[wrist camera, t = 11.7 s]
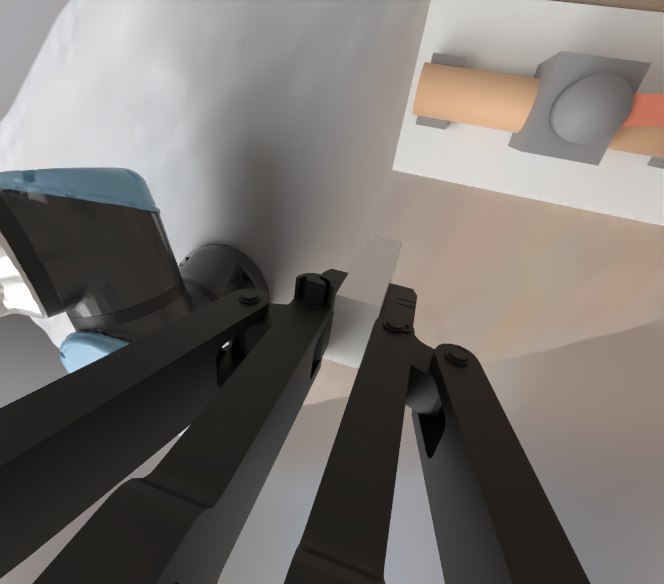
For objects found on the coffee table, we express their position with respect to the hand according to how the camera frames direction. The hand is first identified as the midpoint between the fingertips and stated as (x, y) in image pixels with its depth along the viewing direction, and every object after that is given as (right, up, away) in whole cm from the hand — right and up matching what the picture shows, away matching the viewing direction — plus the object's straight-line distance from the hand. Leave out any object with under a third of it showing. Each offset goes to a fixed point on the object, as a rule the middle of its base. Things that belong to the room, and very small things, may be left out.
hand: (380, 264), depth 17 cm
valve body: (+19, +16, +16) cm, 30 cm away
